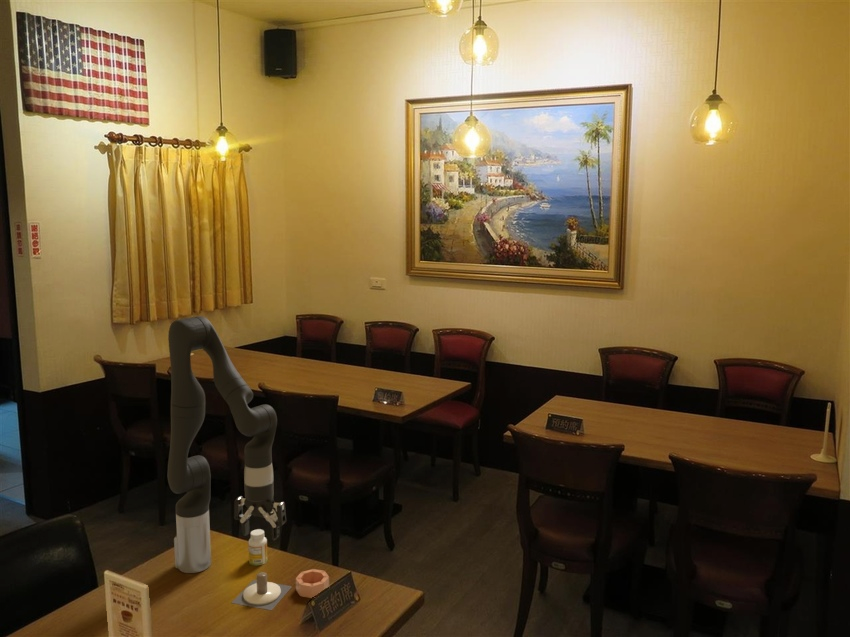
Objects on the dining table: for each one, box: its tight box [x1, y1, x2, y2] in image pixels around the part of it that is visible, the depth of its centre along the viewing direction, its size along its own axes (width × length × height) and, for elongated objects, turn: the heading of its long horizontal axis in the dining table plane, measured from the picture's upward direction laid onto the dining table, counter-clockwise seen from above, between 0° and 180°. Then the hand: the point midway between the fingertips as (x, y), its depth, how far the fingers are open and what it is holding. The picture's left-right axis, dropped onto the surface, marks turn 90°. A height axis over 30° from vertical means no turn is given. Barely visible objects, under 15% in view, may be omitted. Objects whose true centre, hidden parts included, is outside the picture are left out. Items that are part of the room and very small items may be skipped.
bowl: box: [295, 568, 330, 599], centre depth 193 cm, size 8×8×4 cm
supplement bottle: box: [248, 528, 268, 566], centre depth 207 cm, size 5×5×10 cm
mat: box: [231, 579, 293, 611], centre depth 190 cm, size 12×12×1 cm
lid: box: [243, 571, 281, 605], centre depth 189 cm, size 10×10×6 cm
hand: (260, 536), depth 187 cm, fingers open, 8 cm apart
